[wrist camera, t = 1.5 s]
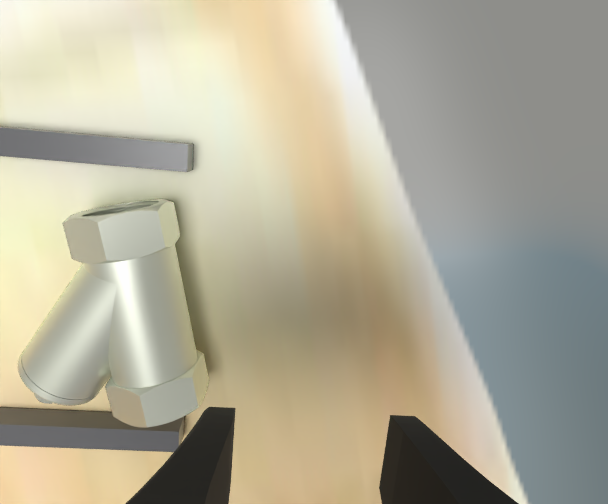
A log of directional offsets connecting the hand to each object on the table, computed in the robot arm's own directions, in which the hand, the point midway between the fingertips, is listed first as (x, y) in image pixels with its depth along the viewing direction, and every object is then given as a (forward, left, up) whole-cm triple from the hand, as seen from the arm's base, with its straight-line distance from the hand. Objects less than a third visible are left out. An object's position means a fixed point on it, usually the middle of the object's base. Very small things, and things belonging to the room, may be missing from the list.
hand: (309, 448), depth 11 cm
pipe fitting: (0, +8, -10) cm, 12 cm away
